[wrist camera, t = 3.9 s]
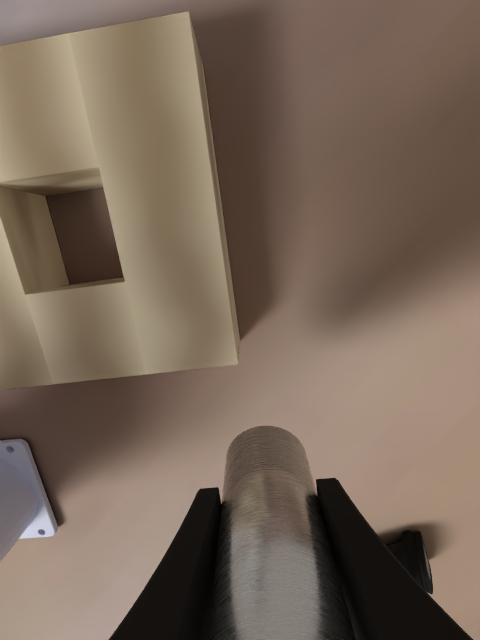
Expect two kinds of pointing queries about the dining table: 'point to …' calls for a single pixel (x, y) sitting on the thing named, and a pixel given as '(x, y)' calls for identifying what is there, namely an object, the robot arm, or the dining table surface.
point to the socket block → (112, 206)
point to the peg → (274, 548)
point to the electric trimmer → (414, 558)
